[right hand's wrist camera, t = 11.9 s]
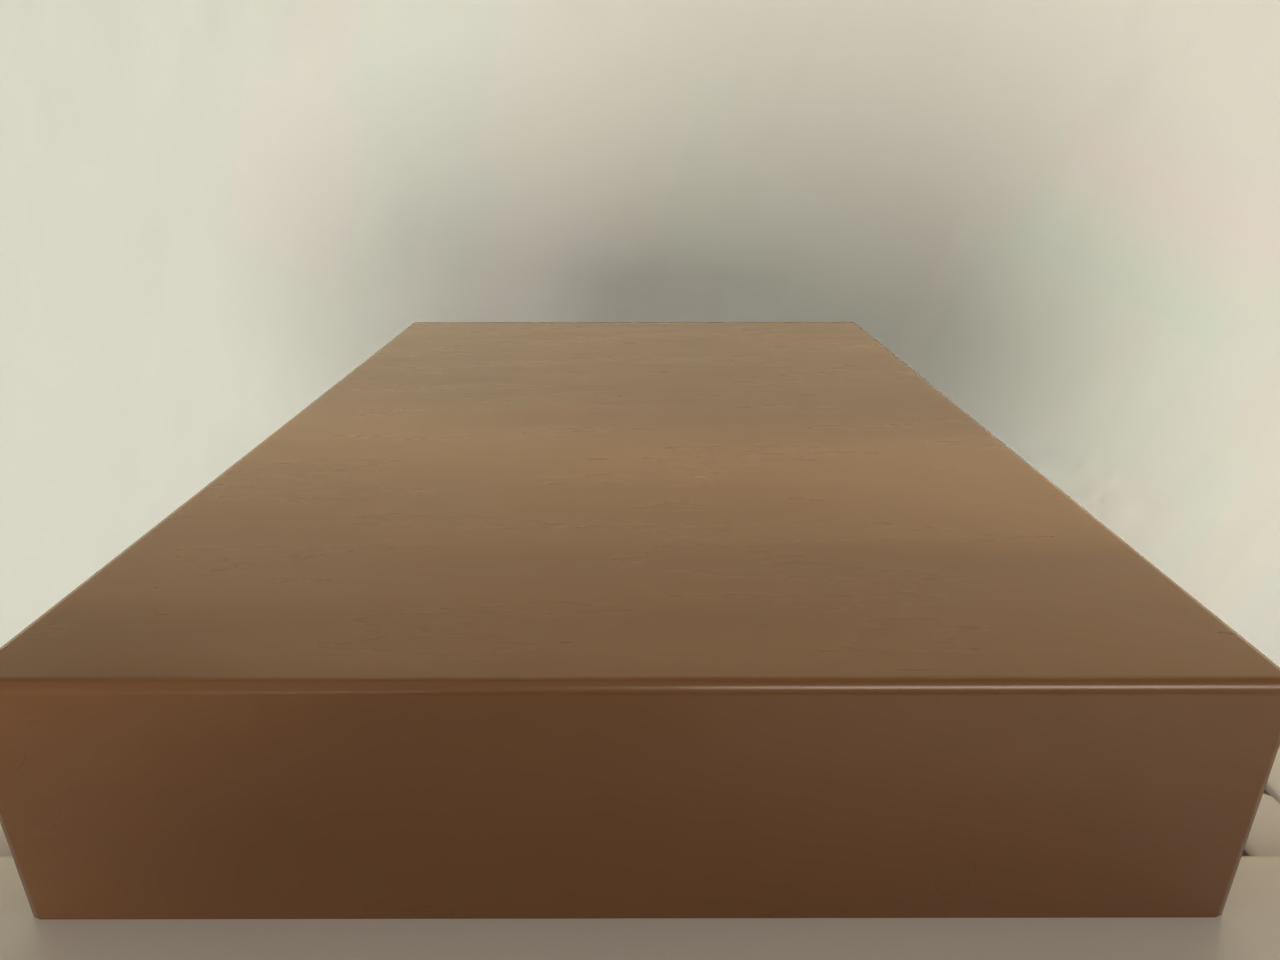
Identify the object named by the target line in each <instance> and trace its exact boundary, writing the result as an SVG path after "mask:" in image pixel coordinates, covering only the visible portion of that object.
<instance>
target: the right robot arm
mask: <svg viewBox="0 0 1280 960" xmlns="http://www.w3.org/2000/svg"><path fill="white" fill-rule="evenodd" d="M0 960H1280V747H1279V748H1278V751H1277V754H1276V757H1275V760H1274V763H1273V766H1272V769H1271V772H1270V775H1269V778H1268V781H1267V783H1266V786H1265V789H1264V792H1263V795H1262V798H1261V801H1260V804H1259V807H1258V810H1257V813H1256V816H1255V819H1254V821H1253V824H1252V827H1251V830H1250V833H1249V836H1248V839H1247V842H1246V845H1245V848H1244V851H1243V854H1242V856H1241V859H1240V862H1239V865H1238V868H1237V871H1236V874H1235V877H1234V880H1233V883H1232V886H1231V889H1230V892H1229V894H1228V897H1227V900H1226V903H1225V906H1224V909H1223V912H1222V915H1220V916H1217V917H1178V918H612V919H46V920H40V919H38V918H35V917H34V916H33V913H32V910H31V907H30V904H29V902H28V899H27V896H26V893H25V890H24V888H23V885H22V882H21V879H20V876H19V874H18V871H17V868H16V865H15V862H14V859H13V857H12V854H11V851H10V848H9V845H8V843H7V840H6V837H5V834H4V831H3V829H2V826H1V823H0Z"/></svg>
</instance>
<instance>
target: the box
mask: <svg viewBox="0 0 1280 960" xmlns="http://www.w3.org/2000/svg"><path fill="white" fill-rule="evenodd" d="M1279 745H1280V668H1279V667H1278V666H1277V665H1276V664H1274V663H1273V662H1272V661H1271V660H1270V659H1268V658H1267V657H1266V656H1265V655H1263V654H1262V653H1261V652H1260V651H1258V650H1257V649H1256V648H1255V647H1254V646H1252V645H1251V644H1250V643H1249V642H1247V641H1246V640H1245V639H1244V638H1242V637H1241V636H1240V635H1239V634H1237V633H1236V632H1235V631H1234V630H1233V629H1231V628H1230V627H1229V626H1228V625H1226V624H1225V623H1224V622H1223V621H1221V620H1220V619H1219V618H1218V617H1217V616H1215V615H1214V614H1213V613H1212V612H1210V611H1209V610H1208V609H1207V608H1205V607H1204V606H1203V605H1202V604H1201V603H1199V602H1198V601H1197V600H1196V599H1194V598H1193V597H1192V596H1191V595H1189V594H1188V593H1187V592H1186V591H1184V590H1183V589H1182V588H1181V587H1180V586H1178V585H1177V584H1176V583H1175V582H1173V581H1172V580H1171V579H1170V578H1168V577H1167V576H1166V575H1165V574H1164V573H1162V572H1161V571H1160V570H1159V569H1157V568H1156V567H1155V566H1154V565H1152V564H1151V563H1150V562H1149V561H1147V560H1146V559H1145V558H1144V557H1143V556H1141V555H1140V554H1139V553H1138V552H1136V551H1135V550H1134V549H1133V548H1131V547H1130V546H1129V545H1128V544H1127V543H1125V542H1124V541H1123V540H1122V539H1120V538H1119V537H1118V536H1117V535H1115V534H1114V533H1113V532H1112V531H1110V530H1109V529H1108V528H1107V527H1106V526H1104V525H1103V524H1102V523H1101V522H1099V521H1098V520H1097V519H1096V518H1094V517H1093V516H1092V515H1091V514H1090V513H1088V512H1087V511H1086V510H1085V509H1083V508H1082V507H1081V506H1080V505H1078V504H1077V503H1076V502H1075V501H1073V500H1072V499H1071V498H1070V497H1069V496H1067V495H1066V494H1065V493H1064V492H1062V491H1061V490H1060V489H1059V488H1057V487H1056V486H1055V485H1054V484H1053V483H1051V482H1050V481H1049V480H1048V479H1046V478H1045V477H1044V476H1043V475H1041V474H1040V473H1039V472H1038V471H1036V470H1035V469H1034V468H1033V467H1032V466H1030V465H1029V464H1028V463H1027V462H1025V461H1024V460H1023V459H1022V458H1020V457H1019V456H1018V455H1017V454H1016V453H1014V452H1013V451H1012V450H1011V449H1009V448H1008V447H1007V446H1006V445H1004V444H1003V443H1002V442H1001V441H999V440H998V439H997V438H996V437H995V436H993V435H992V434H991V433H990V432H988V431H987V430H986V429H985V428H983V427H982V426H981V425H980V424H979V423H977V422H976V421H975V420H974V419H972V418H971V417H970V416H969V415H967V414H966V413H965V412H964V411H962V410H961V409H960V408H959V407H958V406H956V405H955V404H954V403H953V402H951V401H950V400H949V399H948V398H946V397H945V396H944V395H943V394H942V393H940V392H939V391H938V390H937V389H935V388H934V387H933V386H932V385H930V384H929V383H928V382H927V381H926V380H924V379H923V378H922V377H921V376H919V375H918V374H917V373H916V372H914V371H913V370H912V369H911V368H909V367H908V366H907V365H906V364H905V363H903V362H902V361H901V360H900V359H898V358H897V357H896V356H895V355H893V354H892V353H891V352H890V351H889V350H887V349H886V348H885V347H884V346H882V345H881V344H880V343H879V342H877V341H876V340H875V339H874V338H872V337H871V336H870V335H869V334H868V333H866V332H865V331H864V330H863V329H861V328H860V327H859V326H858V325H856V324H855V323H853V322H424V323H414V324H412V325H411V326H410V327H408V328H407V329H406V330H404V331H403V332H402V333H401V334H399V335H398V336H397V337H396V338H394V339H393V340H392V341H390V342H389V343H388V344H387V345H385V346H384V347H383V348H382V349H380V350H379V351H378V352H376V353H375V354H374V355H373V356H371V357H370V358H369V359H368V360H366V361H365V362H364V363H362V364H361V365H360V366H359V367H357V368H356V369H355V370H354V371H352V372H351V373H350V374H348V375H347V376H346V377H345V378H343V379H342V380H341V381H340V382H338V383H337V384H336V385H334V386H333V387H332V388H331V389H329V390H328V391H327V392H326V393H324V394H323V395H322V396H320V397H319V398H318V399H317V400H315V401H314V402H313V403H312V404H310V405H309V406H308V407H306V408H305V409H304V410H303V411H301V412H300V413H299V414H298V415H296V416H295V417H294V418H292V419H291V420H290V421H289V422H287V423H286V424H285V425H284V426H282V427H281V428H280V429H278V430H277V431H276V432H275V433H273V434H272V435H271V436H270V437H268V438H267V439H266V440H264V441H263V442H262V443H261V444H259V445H258V446H257V447H256V448H254V449H253V450H252V451H250V452H249V453H248V454H247V455H245V456H244V457H243V458H242V459H240V460H239V461H238V462H236V463H235V464H234V465H233V466H231V467H230V468H229V469H228V470H226V471H225V472H224V473H222V474H221V475H220V476H219V477H217V478H216V479H215V480H214V481H212V482H211V483H210V484H208V485H207V486H206V487H205V488H203V489H202V490H201V491H200V492H198V493H197V494H196V495H194V496H193V497H192V498H191V499H189V500H188V501H187V502H186V503H184V504H183V505H182V506H180V507H179V508H178V509H177V510H175V511H174V512H173V513H172V514H170V515H169V516H168V517H166V518H165V519H164V520H163V521H161V522H160V523H159V524H158V525H156V526H155V527H154V528H152V529H151V530H150V531H149V532H147V533H146V534H145V535H144V536H142V537H141V538H140V539H138V540H137V541H136V542H135V543H133V544H132V545H131V546H130V547H128V548H127V549H126V550H124V551H123V552H122V553H121V554H119V555H118V556H117V557H116V558H114V559H113V560H112V561H110V562H109V563H108V564H107V565H105V566H104V567H103V568H102V569H100V570H99V571H98V572H96V573H95V574H94V575H93V576H91V577H90V578H89V579H88V580H86V581H85V582H84V583H82V584H81V585H80V586H79V587H77V588H76V589H75V590H74V591H72V592H71V593H70V594H68V595H67V596H66V597H65V598H63V599H62V600H61V601H60V602H58V603H57V604H56V605H54V606H53V607H52V608H51V609H49V610H48V611H47V612H46V613H44V614H43V615H42V616H40V617H39V618H38V619H37V620H35V621H34V622H33V623H32V624H30V625H29V626H28V627H26V628H25V629H24V630H23V631H21V632H20V633H19V634H18V635H16V636H15V637H14V638H12V639H11V640H10V641H9V642H7V643H6V644H5V645H4V646H2V647H1V648H0V823H1V826H2V829H3V831H4V834H5V837H6V840H7V843H8V845H9V848H10V851H11V854H12V857H13V859H14V862H15V865H16V868H17V871H18V874H19V876H20V879H21V882H22V885H23V888H24V890H25V893H26V896H27V899H28V902H29V904H30V907H31V910H32V913H33V916H34V917H35V918H38V919H40V920H46V919H612V918H1178V917H1217V916H1220V915H1222V912H1223V909H1224V906H1225V903H1226V900H1227V897H1228V894H1229V892H1230V889H1231V886H1232V883H1233V880H1234V877H1235V874H1236V871H1237V868H1238V865H1239V862H1240V859H1241V856H1242V854H1243V851H1244V848H1245V845H1246V842H1247V839H1248V836H1249V833H1250V830H1251V827H1252V824H1253V821H1254V819H1255V816H1256V813H1257V810H1258V807H1259V804H1260V801H1261V798H1262V795H1263V792H1264V789H1265V786H1266V783H1267V781H1268V778H1269V775H1270V772H1271V769H1272V766H1273V763H1274V760H1275V757H1276V754H1277V751H1278V748H1279Z"/></svg>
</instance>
